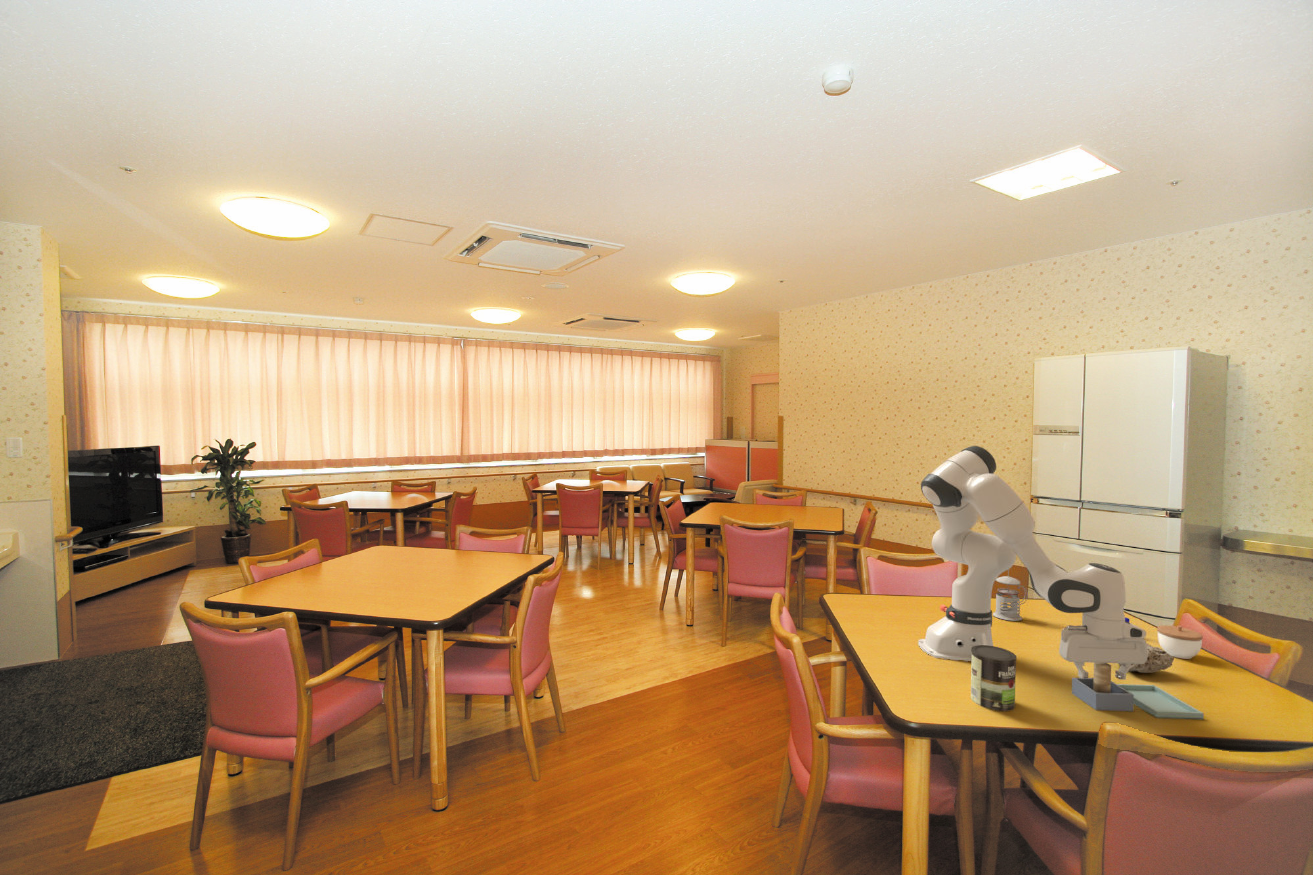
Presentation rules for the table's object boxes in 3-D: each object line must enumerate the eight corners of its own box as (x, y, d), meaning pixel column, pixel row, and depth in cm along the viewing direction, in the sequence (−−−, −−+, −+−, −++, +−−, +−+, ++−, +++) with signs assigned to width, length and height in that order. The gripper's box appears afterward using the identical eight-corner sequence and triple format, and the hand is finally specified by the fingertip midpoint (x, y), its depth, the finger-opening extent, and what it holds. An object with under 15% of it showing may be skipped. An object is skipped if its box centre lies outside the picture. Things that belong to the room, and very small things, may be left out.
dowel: (1099, 704, 149) (1100, 666, 149) (1089, 698, 153) (1090, 661, 152) (1113, 705, 149) (1114, 667, 148) (1103, 698, 152) (1104, 661, 152)
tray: (1156, 720, 143) (1156, 711, 143) (1111, 691, 158) (1111, 683, 158) (1203, 721, 142) (1203, 713, 142) (1153, 692, 157) (1154, 685, 157)
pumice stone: (1156, 666, 174) (1157, 640, 174) (1182, 683, 163) (1183, 656, 163) (1104, 661, 177) (1104, 636, 177) (1126, 678, 166) (1126, 651, 166)
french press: (988, 611, 224) (989, 548, 224) (1019, 612, 223) (1021, 549, 222) (999, 620, 215) (1000, 554, 214) (1032, 621, 213) (1034, 555, 212)
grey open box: (1095, 712, 146) (1096, 693, 146) (1071, 695, 156) (1072, 677, 155) (1133, 713, 146) (1133, 694, 146) (1106, 696, 155) (1107, 678, 155)
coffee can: (1024, 710, 148) (1025, 656, 147) (997, 718, 144) (998, 663, 143) (987, 692, 157) (988, 642, 157) (961, 699, 153) (962, 648, 153)
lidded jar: (1201, 654, 183) (1202, 625, 183) (1202, 665, 175) (1203, 635, 175) (1157, 645, 190) (1158, 617, 190) (1155, 655, 183) (1156, 626, 182)
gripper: (1069, 629, 147) (1068, 682, 148) (1152, 631, 146) (1151, 684, 147) (1054, 620, 154) (1053, 671, 154) (1133, 622, 153) (1132, 673, 153)
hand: (1101, 678), depth 150 cm, fingers open, 8 cm apart
